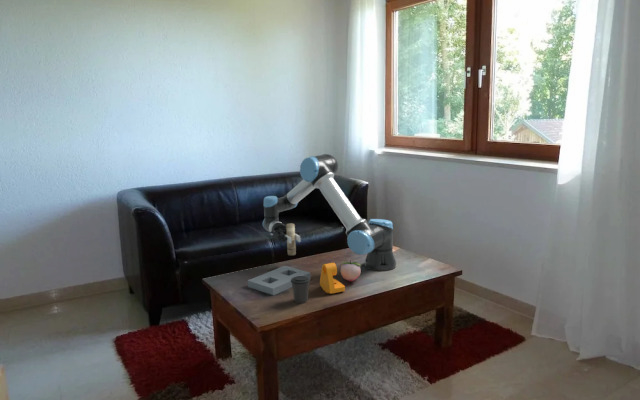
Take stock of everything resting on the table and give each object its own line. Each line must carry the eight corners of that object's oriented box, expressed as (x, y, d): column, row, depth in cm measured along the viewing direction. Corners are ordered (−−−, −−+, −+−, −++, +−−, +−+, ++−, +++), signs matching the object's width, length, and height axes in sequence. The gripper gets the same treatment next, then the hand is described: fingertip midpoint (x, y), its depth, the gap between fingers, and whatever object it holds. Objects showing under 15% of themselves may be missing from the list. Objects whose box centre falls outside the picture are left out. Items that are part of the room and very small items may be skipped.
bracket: (345, 292, 206) (345, 265, 203) (330, 295, 203) (329, 268, 200) (334, 284, 215) (334, 258, 213) (319, 286, 212) (319, 260, 210)
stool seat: (285, 271, 232) (285, 265, 232) (310, 278, 222) (310, 272, 221) (247, 286, 214) (247, 280, 214) (273, 295, 204) (273, 288, 203)
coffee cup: (313, 302, 196) (313, 279, 194) (294, 306, 193) (293, 282, 191) (307, 295, 203) (306, 272, 201) (288, 298, 201) (288, 275, 199)
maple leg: (297, 253, 238) (296, 224, 235) (291, 255, 234) (290, 225, 232) (291, 252, 240) (290, 223, 237) (285, 254, 237) (284, 224, 234)
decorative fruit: (340, 285, 214) (340, 263, 212) (340, 278, 222) (340, 257, 220) (361, 285, 213) (361, 263, 211) (360, 278, 221) (360, 257, 219)
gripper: (293, 233, 256) (311, 244, 235) (263, 238, 249) (278, 250, 228) (292, 220, 254) (311, 229, 234) (262, 224, 247) (278, 234, 227)
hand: (295, 239), depth 231 cm, fingers closed on maple leg, 4 cm apart
